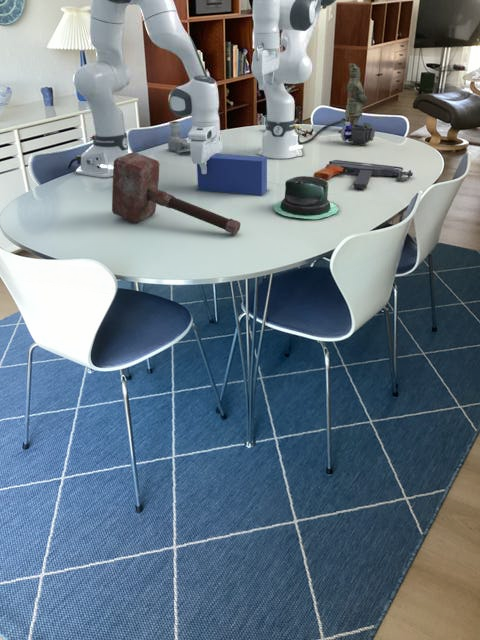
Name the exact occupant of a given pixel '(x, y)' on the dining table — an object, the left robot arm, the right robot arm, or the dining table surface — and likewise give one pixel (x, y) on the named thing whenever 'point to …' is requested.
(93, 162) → the left robot arm
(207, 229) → the dining table surface
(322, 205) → the green fedora hat
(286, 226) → the dining table surface
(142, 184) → the sledgehammer
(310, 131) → the figurine
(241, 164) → the box
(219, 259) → the dining table surface
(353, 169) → the submachine gun
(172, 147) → the grey boot
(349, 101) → the statue
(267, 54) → the right robot arm
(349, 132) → the toy
